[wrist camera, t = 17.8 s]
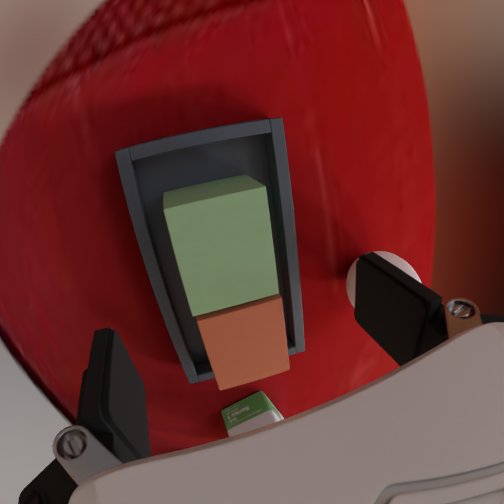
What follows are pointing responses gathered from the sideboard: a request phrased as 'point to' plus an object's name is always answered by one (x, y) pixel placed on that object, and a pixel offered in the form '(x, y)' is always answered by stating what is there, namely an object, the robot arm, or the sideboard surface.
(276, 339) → the orange block
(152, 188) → the holder
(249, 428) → the ink box
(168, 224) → the green block
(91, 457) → the robot arm
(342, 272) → the sideboard surface
